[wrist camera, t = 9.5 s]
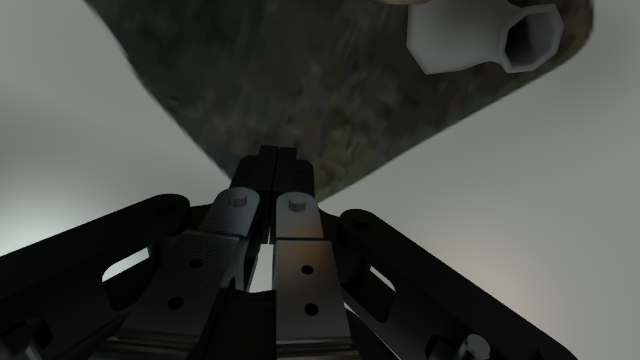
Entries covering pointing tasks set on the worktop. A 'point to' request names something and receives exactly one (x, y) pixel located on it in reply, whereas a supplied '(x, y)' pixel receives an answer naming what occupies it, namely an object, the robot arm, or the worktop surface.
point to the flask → (482, 34)
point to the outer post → (402, 1)
